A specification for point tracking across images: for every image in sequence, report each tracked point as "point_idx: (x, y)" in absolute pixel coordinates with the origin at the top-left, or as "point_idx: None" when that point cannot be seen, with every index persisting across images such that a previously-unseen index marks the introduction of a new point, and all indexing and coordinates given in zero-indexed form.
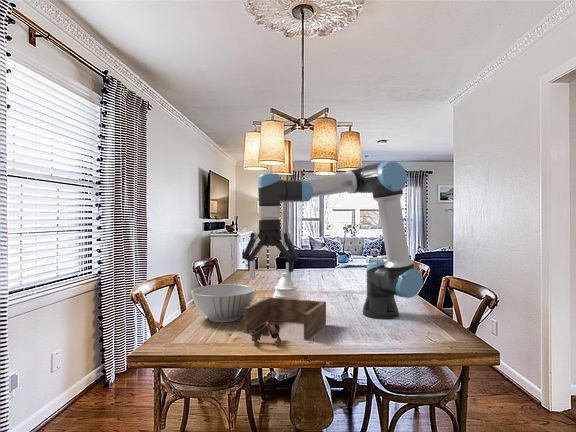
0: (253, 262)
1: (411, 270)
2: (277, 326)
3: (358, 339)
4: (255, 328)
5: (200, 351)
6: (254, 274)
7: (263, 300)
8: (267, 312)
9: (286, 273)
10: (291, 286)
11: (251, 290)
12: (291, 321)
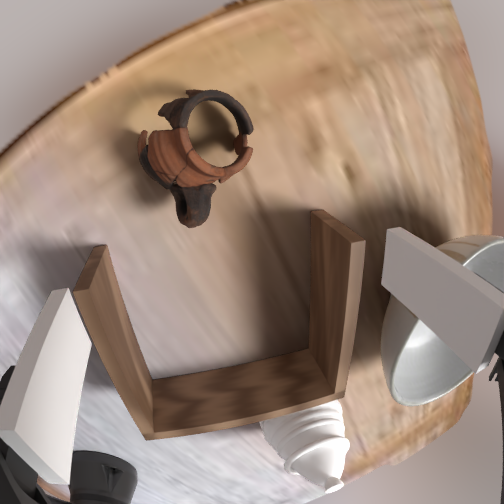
0: (478, 336)
1: None
2: (184, 215)
3: (6, 322)
4: (247, 147)
5: (337, 8)
6: (404, 290)
7: (342, 362)
8: (319, 351)
9: (43, 336)
10: (299, 464)
11: (404, 395)
12: (243, 365)
